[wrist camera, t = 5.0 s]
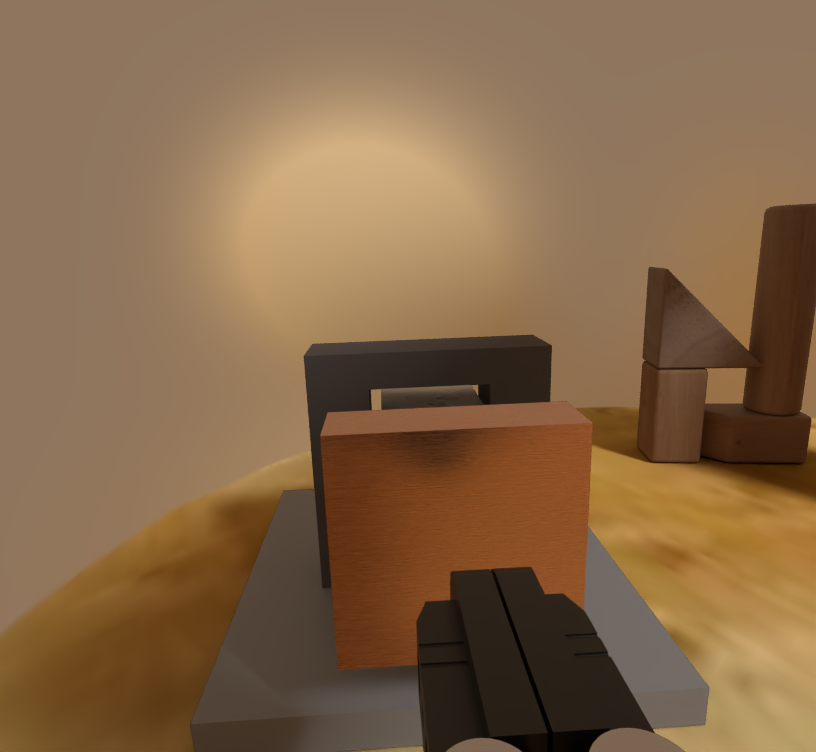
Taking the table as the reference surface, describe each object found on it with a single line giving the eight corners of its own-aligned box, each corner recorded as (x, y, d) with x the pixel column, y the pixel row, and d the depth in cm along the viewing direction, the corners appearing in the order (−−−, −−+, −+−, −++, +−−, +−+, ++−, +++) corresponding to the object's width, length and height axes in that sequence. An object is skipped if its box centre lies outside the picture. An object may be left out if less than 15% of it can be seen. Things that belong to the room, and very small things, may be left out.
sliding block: (487, 464, 29) (487, 336, 27) (581, 653, 15) (592, 422, 14) (357, 470, 29) (350, 342, 27) (337, 670, 15) (320, 435, 14)
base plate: (550, 498, 35) (550, 476, 34) (705, 724, 18) (709, 687, 18) (285, 512, 34) (283, 490, 34) (196, 761, 17) (190, 724, 17)
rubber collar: (528, 541, 27) (532, 334, 24) (544, 574, 24) (551, 345, 22) (328, 553, 26) (312, 343, 24) (322, 588, 24) (303, 355, 21)
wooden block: (635, 446, 43) (650, 212, 39) (778, 447, 42) (810, 206, 38) (650, 464, 39) (669, 209, 35) (807, 466, 38) (846, 202, 34)
